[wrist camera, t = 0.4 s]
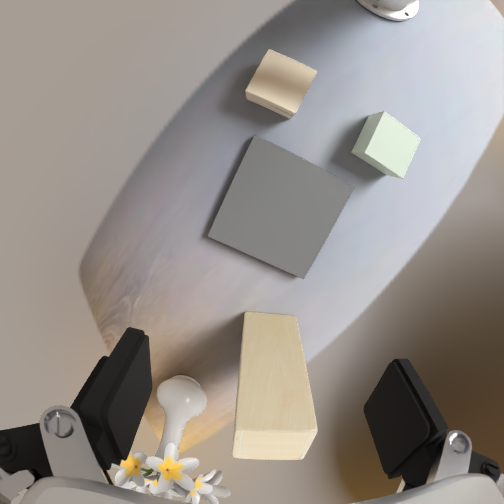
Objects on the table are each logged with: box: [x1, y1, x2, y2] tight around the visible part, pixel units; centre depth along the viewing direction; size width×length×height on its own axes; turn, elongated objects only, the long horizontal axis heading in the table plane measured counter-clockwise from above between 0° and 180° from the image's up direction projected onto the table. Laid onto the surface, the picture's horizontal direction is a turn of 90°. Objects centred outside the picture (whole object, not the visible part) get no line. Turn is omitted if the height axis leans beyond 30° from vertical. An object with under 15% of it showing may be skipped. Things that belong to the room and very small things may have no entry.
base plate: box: [208, 135, 354, 279], centre depth 35 cm, size 14×14×2 cm
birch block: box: [245, 49, 317, 119], centre depth 28 cm, size 6×6×5 cm
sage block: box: [351, 111, 421, 179], centre depth 30 cm, size 6×6×5 cm
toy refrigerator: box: [232, 312, 317, 460], centre depth 32 cm, size 8×7×21 cm
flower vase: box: [111, 375, 230, 504], centre depth 35 cm, size 13×18×25 cm
